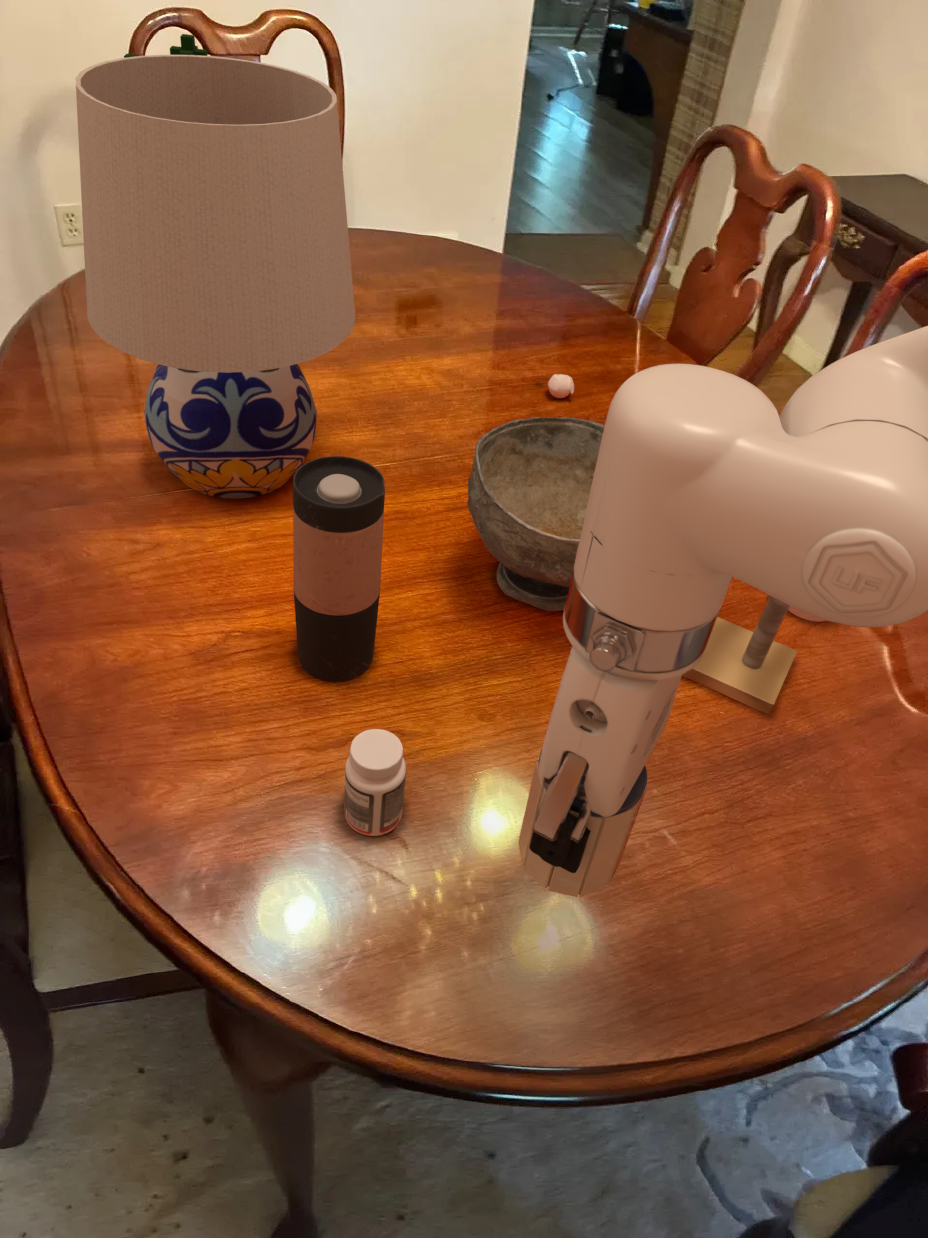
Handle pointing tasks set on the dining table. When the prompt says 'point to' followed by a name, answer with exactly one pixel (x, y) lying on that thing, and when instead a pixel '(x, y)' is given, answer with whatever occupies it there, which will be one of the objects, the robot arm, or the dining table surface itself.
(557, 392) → the garlic
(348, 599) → the travel mug
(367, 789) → the pill bottle
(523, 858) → the blue topped tan cylinder
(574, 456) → the bowl
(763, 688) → the double peg stand
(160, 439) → the table lamp
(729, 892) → the dining table surface
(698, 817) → the dining table surface
